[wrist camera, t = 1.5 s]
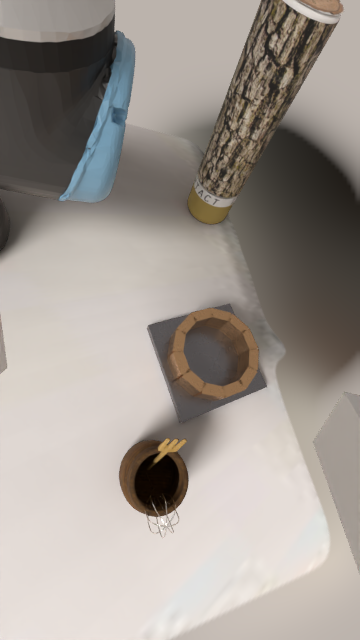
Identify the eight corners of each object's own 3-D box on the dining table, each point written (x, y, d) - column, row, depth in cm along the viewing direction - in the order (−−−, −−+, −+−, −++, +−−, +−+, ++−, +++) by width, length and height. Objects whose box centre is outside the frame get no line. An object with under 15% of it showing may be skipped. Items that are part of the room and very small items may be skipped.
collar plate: (147, 328, 35) (152, 316, 31) (226, 306, 39) (239, 294, 36) (180, 422, 32) (190, 421, 28) (262, 387, 36) (280, 382, 32)
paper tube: (210, 189, 47) (309, -30, 25) (232, 219, 46) (358, 17, 23) (178, 199, 44) (256, -39, 22) (200, 231, 43) (308, 14, 21)
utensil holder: (114, 504, 27) (123, 551, 16) (123, 435, 30) (135, 436, 19) (172, 504, 28) (216, 547, 18) (176, 438, 31) (216, 440, 20)
